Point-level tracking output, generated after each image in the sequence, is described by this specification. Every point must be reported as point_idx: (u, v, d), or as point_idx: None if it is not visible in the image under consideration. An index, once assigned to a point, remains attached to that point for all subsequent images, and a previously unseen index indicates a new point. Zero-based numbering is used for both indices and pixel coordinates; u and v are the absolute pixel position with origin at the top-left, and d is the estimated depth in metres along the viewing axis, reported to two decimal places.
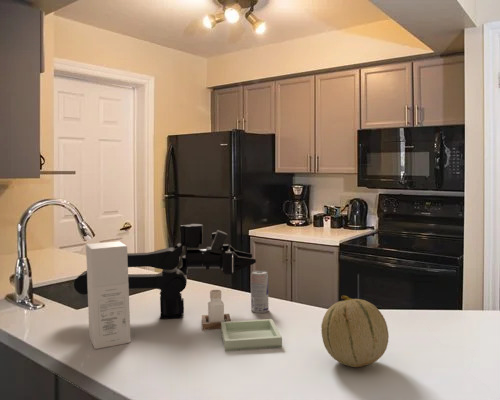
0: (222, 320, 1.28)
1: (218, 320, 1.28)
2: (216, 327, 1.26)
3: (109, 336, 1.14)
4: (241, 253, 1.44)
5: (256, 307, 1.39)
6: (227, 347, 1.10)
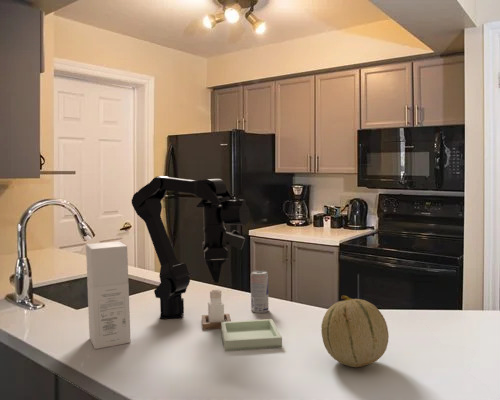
0: (222, 320, 1.28)
1: (218, 320, 1.28)
2: (216, 327, 1.26)
3: (109, 336, 1.14)
4: None
5: (256, 307, 1.39)
6: (227, 347, 1.10)
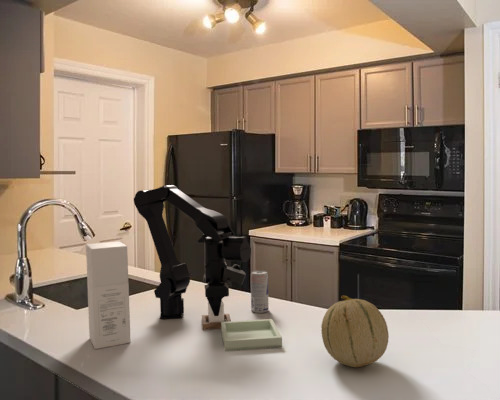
0: (222, 320, 1.28)
1: (218, 320, 1.28)
2: (216, 327, 1.26)
3: (109, 336, 1.14)
4: None
5: (256, 307, 1.39)
6: (227, 347, 1.10)
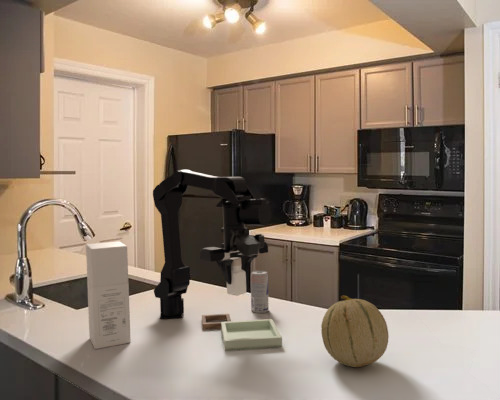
0: (234, 290, 1.20)
1: (232, 290, 1.20)
2: (216, 327, 1.26)
3: (109, 336, 1.14)
4: (244, 269, 1.22)
5: (256, 307, 1.39)
6: (227, 347, 1.10)
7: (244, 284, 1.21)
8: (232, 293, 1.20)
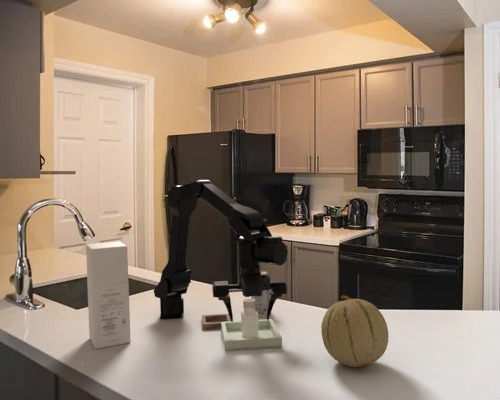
0: (243, 333, 1.16)
1: (243, 331, 1.17)
2: (216, 327, 1.26)
3: (109, 336, 1.14)
4: (267, 307, 1.18)
5: (256, 307, 1.39)
6: (227, 347, 1.10)
7: (255, 328, 1.16)
8: None
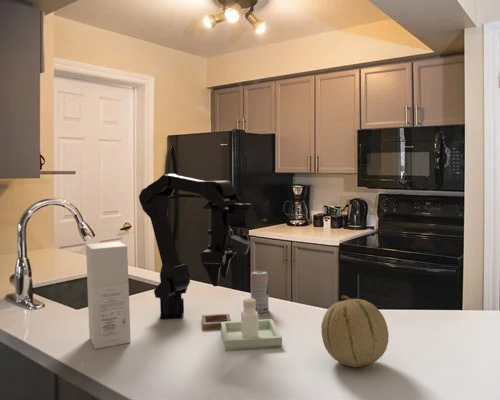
0: (243, 333, 1.16)
1: (243, 331, 1.17)
2: (216, 327, 1.26)
3: (109, 336, 1.14)
4: (226, 266, 1.32)
5: (256, 307, 1.39)
6: (227, 347, 1.10)
7: (255, 328, 1.16)
8: None
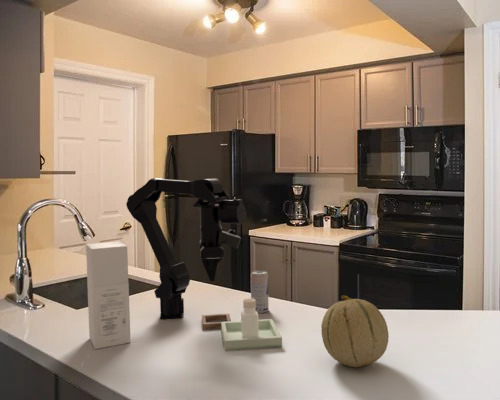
0: (243, 333, 1.16)
1: (243, 331, 1.17)
2: (216, 327, 1.26)
3: (109, 336, 1.14)
4: None
5: (256, 307, 1.39)
6: (227, 347, 1.10)
7: (255, 328, 1.16)
8: None
